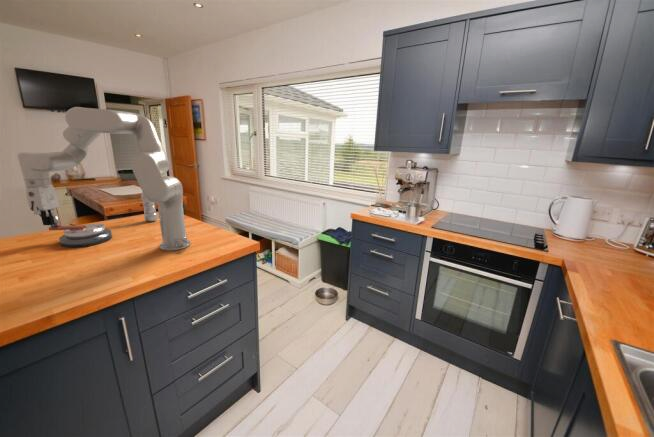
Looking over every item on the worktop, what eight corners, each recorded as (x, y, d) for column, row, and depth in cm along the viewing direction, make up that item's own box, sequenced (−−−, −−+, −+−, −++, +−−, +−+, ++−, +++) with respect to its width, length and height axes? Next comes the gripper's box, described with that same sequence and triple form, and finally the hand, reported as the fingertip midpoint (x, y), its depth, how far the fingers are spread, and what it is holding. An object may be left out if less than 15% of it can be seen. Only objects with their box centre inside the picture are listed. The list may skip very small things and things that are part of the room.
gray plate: (119, 238, 129) (118, 232, 129) (71, 251, 114) (70, 244, 113) (100, 231, 138) (99, 225, 137) (53, 242, 122) (51, 236, 121)
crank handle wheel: (94, 238, 120) (90, 219, 117) (40, 240, 116) (35, 220, 113) (111, 228, 133) (108, 211, 130) (63, 229, 129) (59, 212, 126)
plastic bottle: (153, 222, 154) (148, 188, 148) (142, 222, 154) (136, 187, 148) (160, 219, 160) (156, 186, 154) (149, 219, 160) (144, 185, 154)
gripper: (34, 185, 106) (46, 230, 111) (61, 180, 120) (70, 219, 125) (11, 185, 105) (24, 230, 110) (41, 179, 119) (51, 219, 124)
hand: (49, 224), depth 118 cm, fingers closed
